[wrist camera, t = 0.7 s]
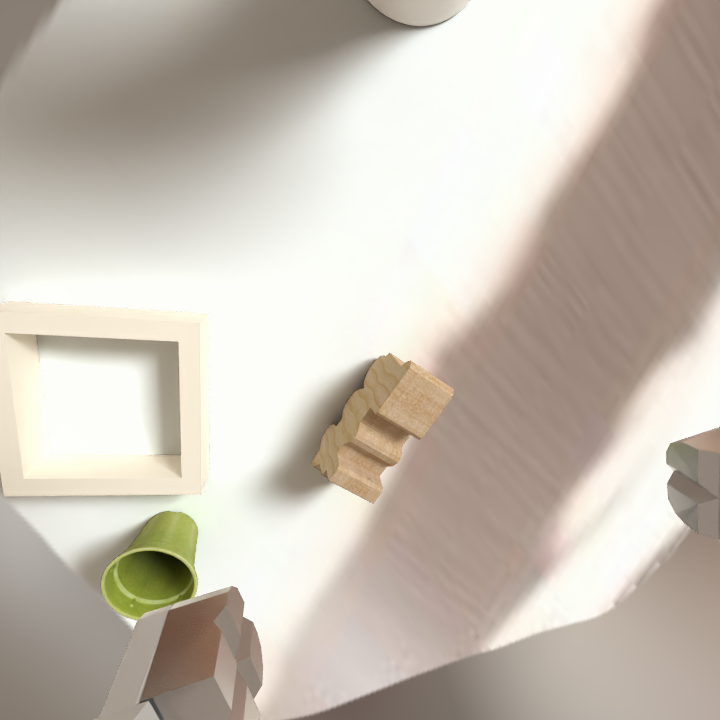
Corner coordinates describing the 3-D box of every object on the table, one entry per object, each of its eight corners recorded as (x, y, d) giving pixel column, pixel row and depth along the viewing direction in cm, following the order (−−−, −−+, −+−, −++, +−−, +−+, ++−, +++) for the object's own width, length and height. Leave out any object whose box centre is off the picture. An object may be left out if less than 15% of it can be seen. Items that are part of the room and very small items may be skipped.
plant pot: (167, 575, 54) (145, 636, 46) (113, 527, 51) (79, 583, 43) (227, 534, 54) (216, 589, 46) (176, 484, 51) (154, 532, 43)
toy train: (310, 452, 53) (315, 500, 43) (389, 339, 50) (413, 363, 41) (347, 471, 54) (359, 522, 45) (426, 363, 52) (456, 392, 42)
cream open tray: (10, 301, 43) (-25, 309, 38) (209, 313, 46) (199, 322, 41) (32, 470, 48) (3, 496, 43) (209, 470, 51) (201, 494, 46)
